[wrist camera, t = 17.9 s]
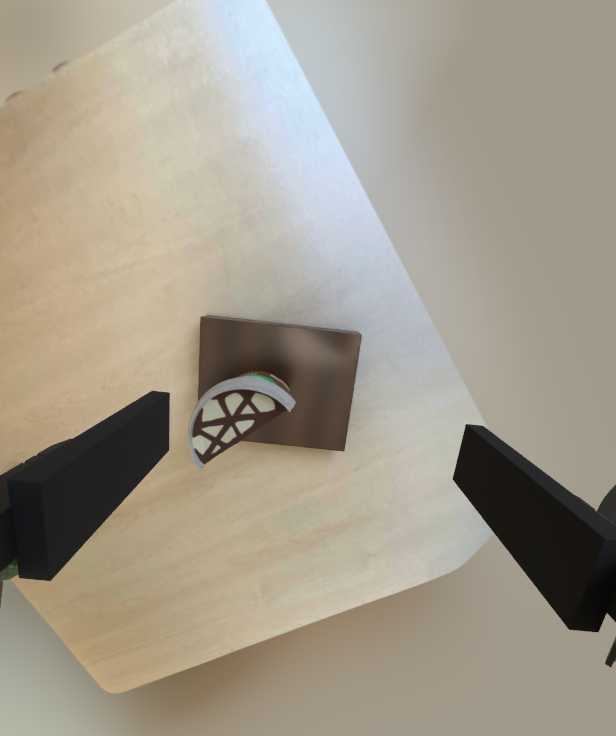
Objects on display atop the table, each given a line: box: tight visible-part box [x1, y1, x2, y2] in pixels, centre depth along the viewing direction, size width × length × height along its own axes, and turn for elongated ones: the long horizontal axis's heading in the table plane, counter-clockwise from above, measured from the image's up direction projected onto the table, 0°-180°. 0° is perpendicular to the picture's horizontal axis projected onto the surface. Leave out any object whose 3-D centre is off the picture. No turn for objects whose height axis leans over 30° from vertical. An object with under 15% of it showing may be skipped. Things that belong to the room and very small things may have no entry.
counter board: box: [198, 315, 362, 451], centre depth 41 cm, size 20×16×3 cm
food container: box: [188, 371, 296, 470], centre depth 35 cm, size 12×6×10 cm, turn 125°
